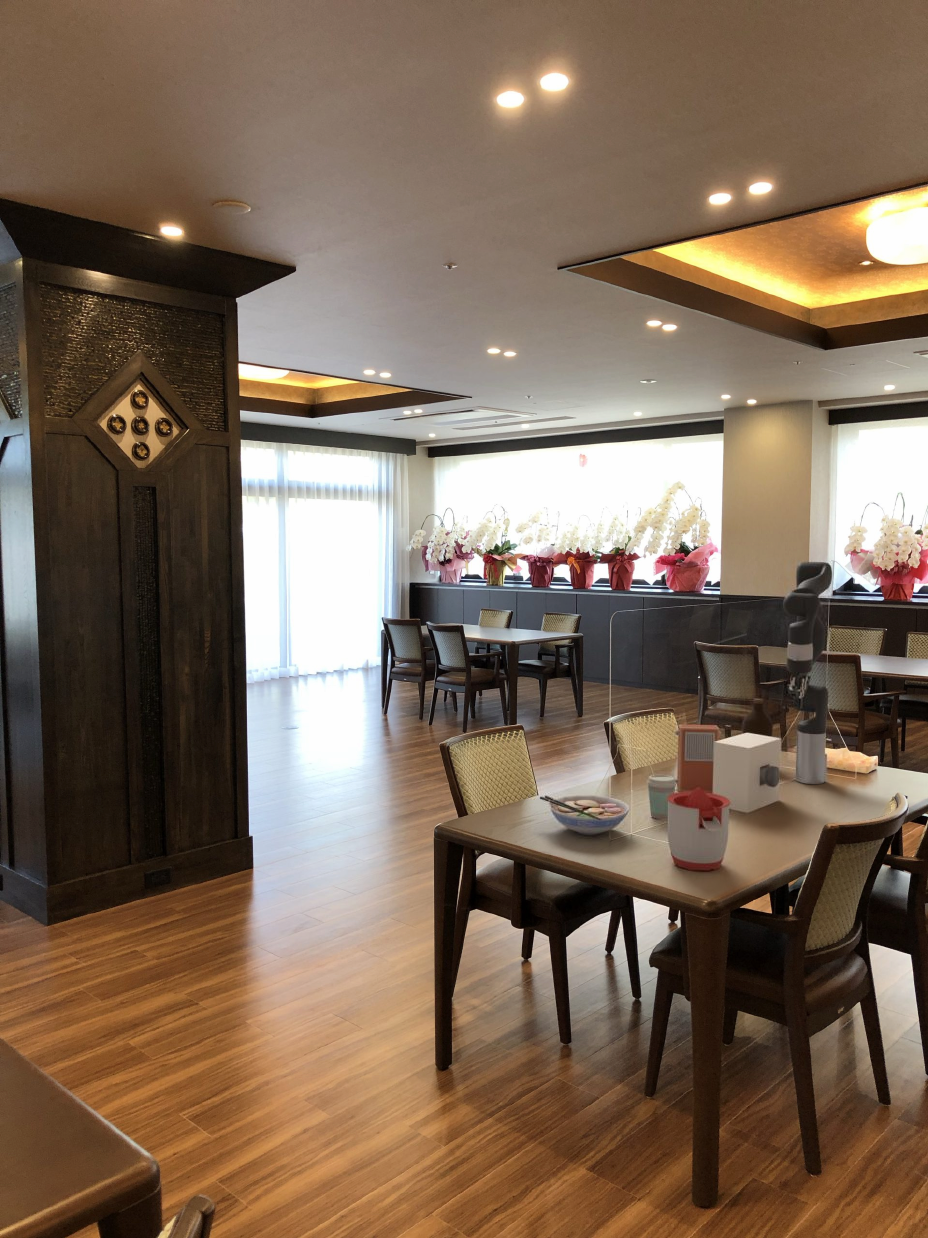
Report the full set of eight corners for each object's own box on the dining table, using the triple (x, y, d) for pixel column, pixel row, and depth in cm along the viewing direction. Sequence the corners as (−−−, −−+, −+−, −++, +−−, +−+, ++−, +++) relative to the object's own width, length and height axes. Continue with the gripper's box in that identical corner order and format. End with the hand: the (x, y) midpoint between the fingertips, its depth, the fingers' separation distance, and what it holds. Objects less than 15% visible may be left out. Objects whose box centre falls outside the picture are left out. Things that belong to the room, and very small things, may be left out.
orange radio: (672, 786, 315) (718, 788, 314) (675, 792, 308) (722, 793, 307) (674, 723, 313) (720, 724, 312) (676, 728, 306) (723, 729, 305)
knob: (753, 779, 298) (753, 760, 297) (779, 785, 291) (780, 765, 291) (742, 783, 293) (743, 763, 293) (769, 789, 287) (770, 768, 286)
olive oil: (763, 772, 335) (766, 702, 333) (735, 767, 342) (737, 699, 340) (776, 766, 343) (778, 699, 341) (748, 762, 350) (751, 695, 348)
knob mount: (744, 792, 308) (746, 732, 306) (779, 800, 299) (781, 738, 297) (712, 804, 294) (714, 741, 292) (747, 813, 285) (749, 748, 284)
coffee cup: (678, 815, 283) (679, 776, 282) (670, 823, 275) (671, 782, 274) (651, 811, 287) (651, 772, 286) (642, 818, 279) (643, 779, 278)
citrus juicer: (682, 879, 230) (684, 799, 228) (656, 855, 247) (658, 780, 245) (742, 875, 233) (744, 796, 231) (712, 852, 250) (714, 778, 248)
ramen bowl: (649, 836, 263) (649, 808, 262) (585, 850, 251) (585, 820, 250) (591, 814, 284) (591, 787, 283) (530, 826, 272) (530, 798, 271)
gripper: (796, 648, 300) (795, 700, 304) (779, 659, 290) (777, 712, 295) (820, 652, 295) (818, 704, 299) (802, 663, 285) (800, 716, 290)
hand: (797, 708), depth 297 cm, fingers closed
